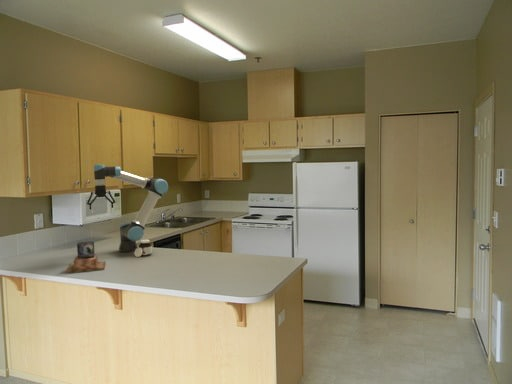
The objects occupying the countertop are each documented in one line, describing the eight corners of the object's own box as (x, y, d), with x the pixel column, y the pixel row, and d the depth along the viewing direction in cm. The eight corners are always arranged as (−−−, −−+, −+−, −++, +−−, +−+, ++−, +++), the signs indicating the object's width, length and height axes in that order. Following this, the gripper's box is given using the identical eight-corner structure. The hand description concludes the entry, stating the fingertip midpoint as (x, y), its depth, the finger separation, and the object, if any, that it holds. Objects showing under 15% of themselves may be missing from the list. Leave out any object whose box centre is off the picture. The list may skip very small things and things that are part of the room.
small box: (77, 259, 284) (76, 243, 283) (78, 256, 290) (77, 241, 289) (94, 257, 287) (93, 242, 286) (94, 255, 293) (94, 240, 292)
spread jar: (153, 254, 328) (153, 239, 327) (148, 257, 317) (147, 242, 316) (138, 254, 330) (138, 239, 329) (133, 257, 318) (132, 242, 317)
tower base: (105, 263, 302) (105, 253, 301) (104, 269, 283) (103, 258, 283) (69, 266, 294) (68, 255, 294) (65, 273, 276) (65, 262, 276)
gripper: (81, 186, 306) (83, 214, 308) (117, 184, 314) (119, 212, 316) (82, 185, 313) (84, 213, 315) (117, 183, 321) (119, 211, 323)
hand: (101, 213), depth 315 cm, fingers open, 13 cm apart
